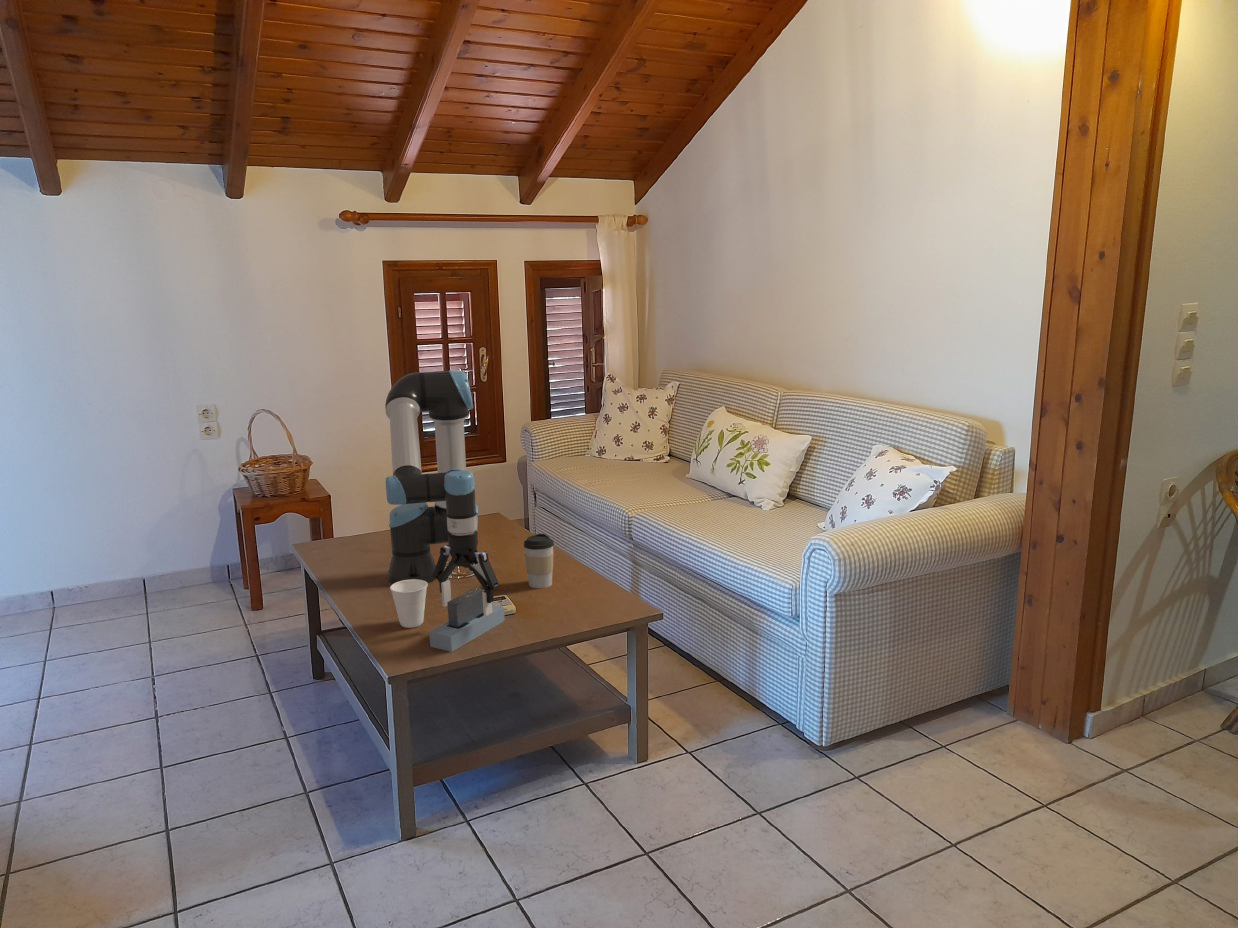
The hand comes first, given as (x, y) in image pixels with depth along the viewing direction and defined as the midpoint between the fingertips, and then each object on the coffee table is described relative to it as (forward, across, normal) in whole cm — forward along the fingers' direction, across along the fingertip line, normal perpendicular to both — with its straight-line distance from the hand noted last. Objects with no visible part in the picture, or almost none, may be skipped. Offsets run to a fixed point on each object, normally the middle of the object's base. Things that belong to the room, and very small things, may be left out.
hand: (467, 609), depth 231 cm
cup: (+7, -18, -2) cm, 19 cm away
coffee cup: (+7, -4, +39) cm, 40 cm away
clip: (+6, 0, 0) cm, 6 cm away
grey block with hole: (+7, 0, 0) cm, 7 cm away
